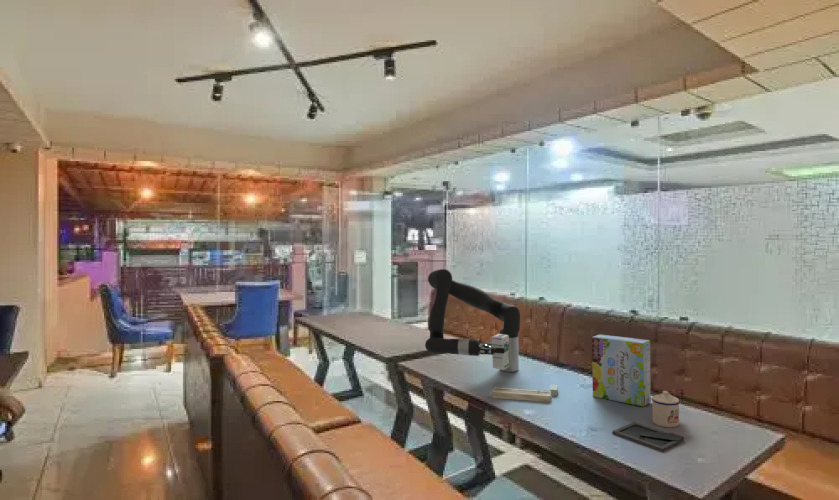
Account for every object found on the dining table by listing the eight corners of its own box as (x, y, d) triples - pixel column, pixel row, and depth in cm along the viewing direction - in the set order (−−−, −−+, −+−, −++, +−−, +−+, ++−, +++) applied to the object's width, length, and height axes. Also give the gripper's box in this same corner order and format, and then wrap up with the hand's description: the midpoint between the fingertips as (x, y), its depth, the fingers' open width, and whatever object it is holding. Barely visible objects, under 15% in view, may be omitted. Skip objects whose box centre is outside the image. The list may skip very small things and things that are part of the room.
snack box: (651, 402, 205) (651, 339, 204) (644, 408, 199) (644, 343, 198) (599, 391, 220) (599, 333, 219) (591, 396, 213) (590, 336, 212)
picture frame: (684, 442, 168) (634, 426, 183) (684, 436, 168) (634, 420, 183) (662, 453, 160) (612, 435, 175) (662, 447, 160) (612, 429, 175)
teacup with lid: (671, 430, 177) (671, 397, 176) (646, 422, 184) (646, 391, 184) (688, 421, 184) (688, 390, 184) (663, 414, 191) (663, 384, 191)
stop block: (550, 390, 223) (550, 384, 223) (557, 390, 222) (557, 385, 222) (550, 395, 216) (550, 389, 216) (557, 395, 215) (557, 390, 215)
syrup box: (503, 369, 221) (503, 337, 221) (492, 367, 225) (491, 335, 224) (509, 366, 226) (509, 334, 225) (498, 364, 229) (497, 333, 229)
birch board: (494, 393, 221) (494, 387, 220) (551, 397, 214) (551, 391, 213) (492, 397, 215) (492, 391, 215) (550, 402, 208) (550, 395, 208)
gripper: (465, 342, 222) (503, 344, 217) (471, 335, 236) (507, 336, 231) (466, 359, 222) (503, 361, 218) (472, 351, 236) (507, 352, 231)
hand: (505, 348), depth 224 cm, fingers closed on syrup box, 7 cm apart
